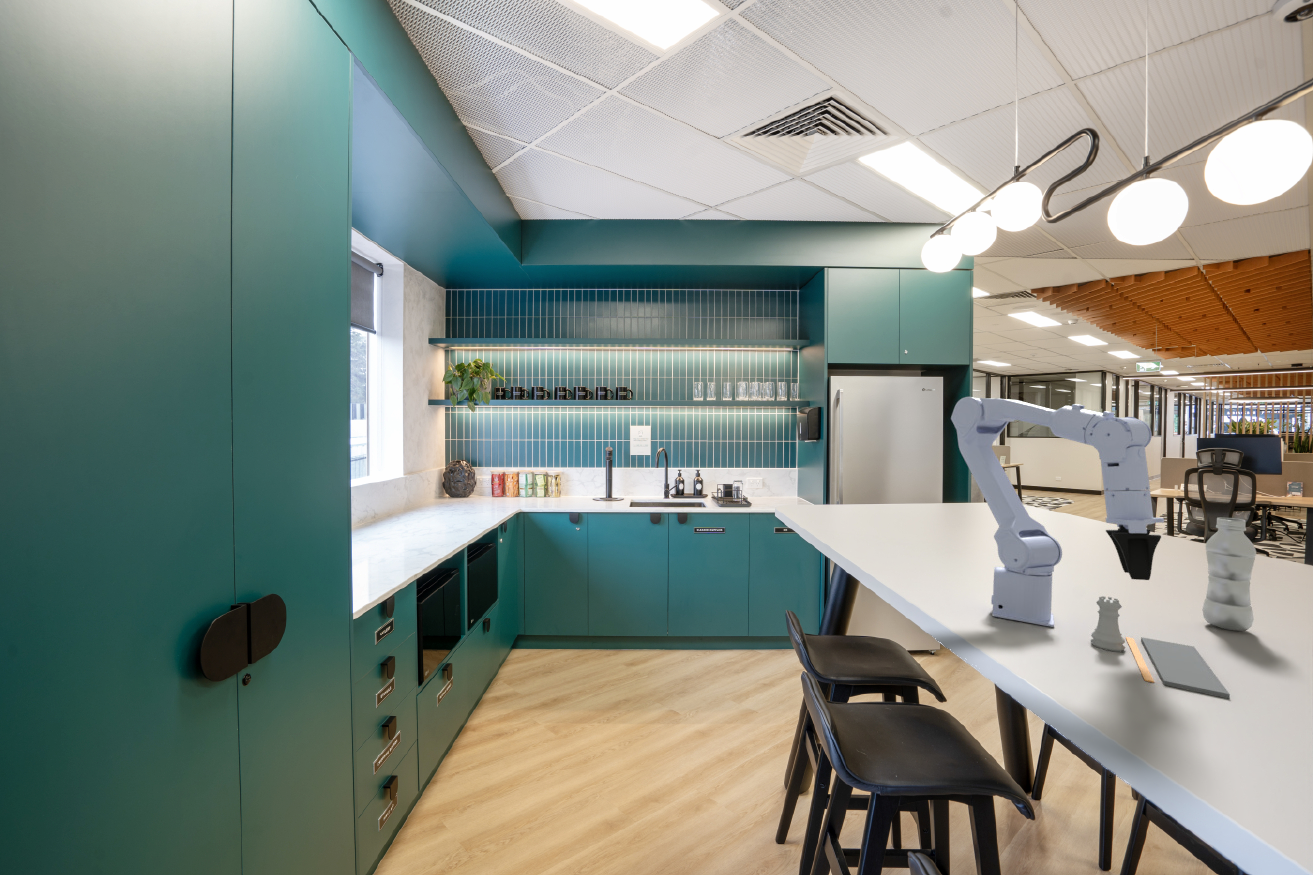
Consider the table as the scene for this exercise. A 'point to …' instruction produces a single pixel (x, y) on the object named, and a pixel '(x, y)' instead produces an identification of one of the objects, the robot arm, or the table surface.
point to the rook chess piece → (1108, 626)
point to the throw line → (1139, 660)
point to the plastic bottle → (1229, 576)
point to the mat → (1183, 667)
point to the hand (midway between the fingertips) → (1136, 576)
